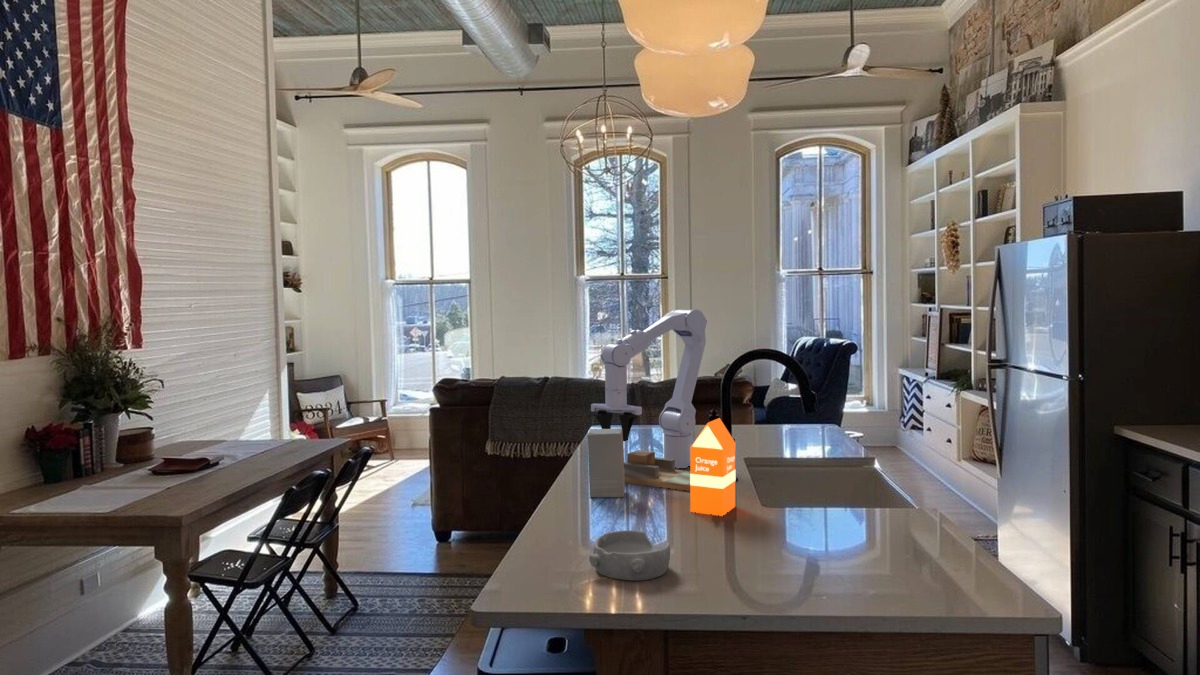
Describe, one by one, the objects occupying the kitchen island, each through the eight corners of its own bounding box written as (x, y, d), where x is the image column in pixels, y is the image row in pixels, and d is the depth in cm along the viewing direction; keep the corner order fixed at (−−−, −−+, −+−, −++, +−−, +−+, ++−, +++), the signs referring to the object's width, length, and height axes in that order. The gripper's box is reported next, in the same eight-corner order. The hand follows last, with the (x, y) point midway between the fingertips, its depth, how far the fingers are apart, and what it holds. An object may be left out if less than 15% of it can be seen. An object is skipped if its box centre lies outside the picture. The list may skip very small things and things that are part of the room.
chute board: (630, 469, 216) (630, 453, 216) (711, 479, 204) (711, 462, 203) (604, 480, 204) (604, 463, 203) (689, 491, 192) (689, 473, 191)
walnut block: (638, 468, 210) (638, 450, 210) (654, 470, 207) (654, 451, 207) (627, 472, 205) (627, 454, 205) (644, 475, 202) (644, 455, 202)
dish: (624, 551, 148) (624, 525, 147) (686, 567, 139) (686, 539, 139) (573, 572, 136) (573, 544, 136) (637, 591, 128) (637, 561, 127)
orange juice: (689, 511, 174) (689, 422, 173) (703, 502, 181) (703, 416, 180) (723, 516, 170) (723, 424, 169) (736, 506, 178) (736, 418, 177)
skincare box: (625, 491, 192) (624, 427, 191) (623, 499, 185) (622, 432, 184) (590, 491, 192) (590, 427, 192) (587, 498, 185) (586, 432, 185)
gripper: (584, 389, 209) (585, 439, 210) (633, 392, 202) (633, 444, 202) (598, 386, 215) (598, 435, 216) (645, 389, 208) (645, 440, 208)
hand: (616, 439), depth 210 cm, fingers open, 5 cm apart
